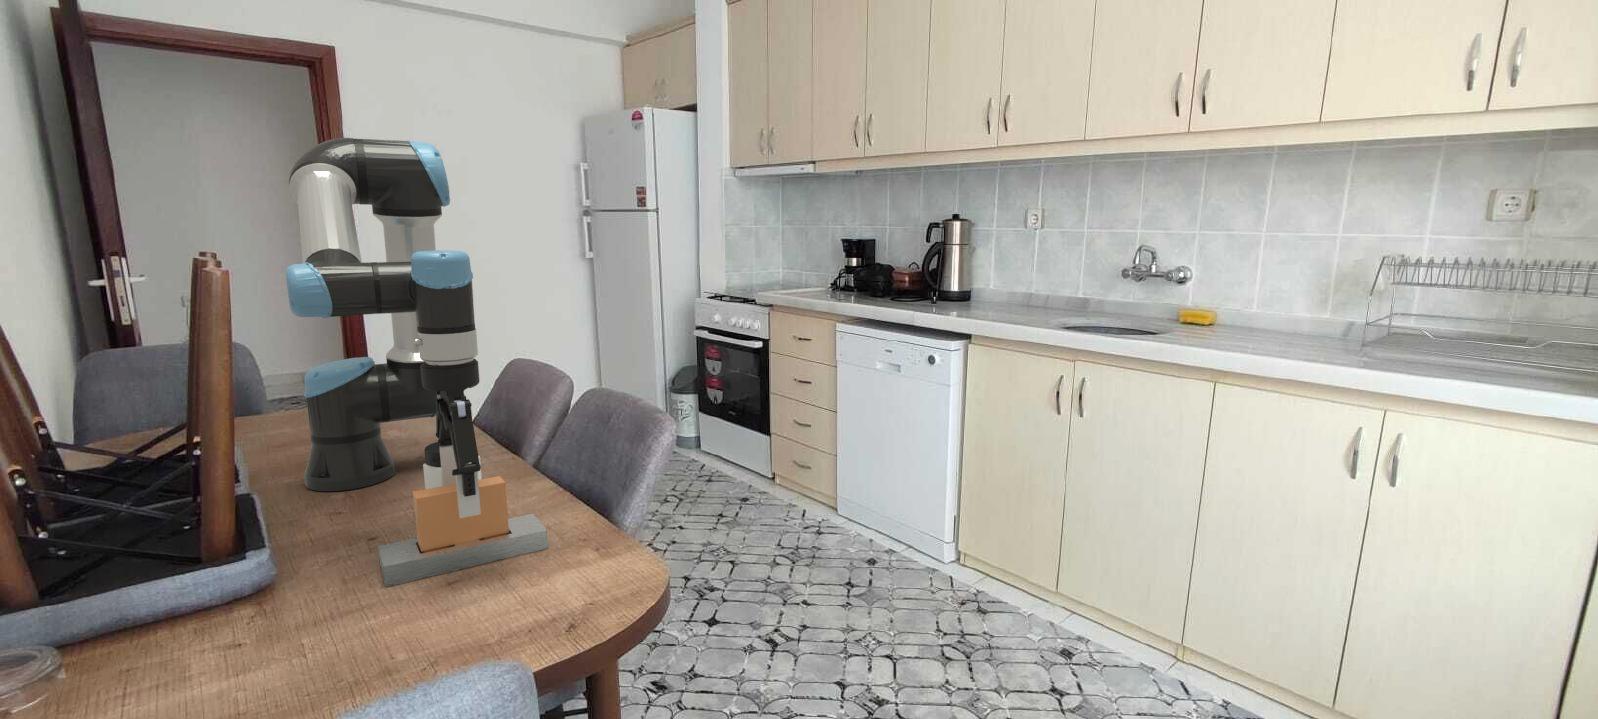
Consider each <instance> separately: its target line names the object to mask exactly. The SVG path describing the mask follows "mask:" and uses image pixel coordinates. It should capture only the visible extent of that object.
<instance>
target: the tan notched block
mask: <svg viewBox="0 0 1598 719" xmlns="http://www.w3.org/2000/svg"><path fill="white" fill-rule="evenodd" d="M478 485H479V497H480V510H481V514H479V515H474V516H469V517H464V518H460V517H459V508H458V496H457V485H456V484H452V485H446V486H441V487H435V488H430V489H425V488H424V489H419V490H413V491H412V497H413V507H414V517H415V528H416V538H417V539H418V545H419V547H420V550H421V552H423V553H426V552H430V551H435V550H440V549H444V548H448V546H450V545H455V544H459V543H464V542H468V541H473V540H477V539H481V540H485V539H489V538H494V537H498V536H503V535H505V533H509V526H508V519H509V515H508V502H507V500H508V499H507V487H506V481H505V480H504V479H503V478H502V476H501V475H498V476H497V475H496V476H492V477H487V478H486V477H485V478H482V479H480V480H478Z"/></svg>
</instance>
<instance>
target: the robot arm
mask: <svg viewBox="0 0 1598 719" xmlns="http://www.w3.org/2000/svg"><path fill="white" fill-rule="evenodd" d="M446 172H447V171H446V168H445V165H444V161H443V158H442V156H441V154H440V150H438V148H437V147H436V146H435V145H433V144H432V143H428V142H422V141H421V142H420V141H414V140H413V141H412V140H411V139H410V140H398V139H397V140H392V139H373V138H371V139H370V138H353V137H339V138H332V139H328V140H325V141H323V142H321V143H319V144H315V145H314V146H312V147H311V148H310V149H308V150H306V151H305V152H304V153H303V154H302V155H301V156H299V158H297V160H296V161H295V163H294V164H293V165H292V168H291V170H290V173H289V178H288V186H289V187H288V188H289V193H290V196H291V198H292V200H293V201H294V203H296V205H297V207H298V218H299V219H298V220H299V222H298V223H299V237H300V245H301V246H300V247H301V248H300V249H301V258H302V259H301V260H302V261H301V262H302V263H296V264H295V263H294V264H290V265H289V266H288V267H287V268H286V270H285V276H286V288H287V295H288V301H289V302H288V303H289V308H290V311H291V313H292V314H293V316H296V317H299V318H323V319H328V318H330V317H331V318H332V317H333V318H334V317H346V316H362V315H378V314H379V315H382V314H391V325H392V326H391V327H392V338H393V346H392V347H391V349H390V350H388V351H387V352H386V357H385V360H386V363H377V364H375V361H374V358H373V357H370V356H362V357H361V356H360V357H352V358H346V359H340V360H335V361H331V362H327V363H323V364H320V365H317V366H315V367H313V368H311V369H309V370H308V371H307V372H306V373H305V375H304V379H303V380H304V398H306V399H305V400H306V405H307V406H306V407H307V416H308V424H309V434H310V443H311V444H310V446H311V447H310V449H309V450H310V451H309V455H308V459H307V463H306V466H305V471H304V473H303V474H304V484H305V488H307V489H308V490H311V491H318V492H339V491H340V492H341V491H349V490H355V489H356V490H357V489H361V488H366V487H370V486H373V485H377V484H378V483H382V482H384V481H387V480H388V479H390V478H391V477H393V476H394V475H395V474H396V467H395V461H394V458H393V457H392V455H391V452H390V450H389V449H388V447H387V445H386V442H385V441H384V438H383V437H382V431H381V424H383V423H391V422H392V423H393V422H398V421H399V422H400V421H406V420H414V419H415V420H416V419H423V418H436V424H435V425H436V426H435V428H436V431H435V432H436V433H435V436H436V438H437V439H438V440H437V442H438V443H439V444H440V445H443V446H441V447H439V448H440V459H441V471H442V482H443V486H446V485H452V484H456V485H457V496H458V508H459V517H460V518H464V517H469V516H474V515H479V514H481V510H480V497H479V485H478V472H477V471H480V469H481V470H482V465H480V463H481V462H480V463H479V457H478V456H479V454H478V453H479V451H478V446H477V445H476V444H477V441H476V434H475V433H476V432H475V427H474V421H473V420H474V419H473V413H472V406H473V405H472V403H471V401H470V398H469V399H467V396H466V394H465V393H464V392H465V391H466V390H467V389H472V388H474V387H476V386H477V385H479V383H480V370H479V369H480V368H479V361H478V360H477V359H476V357H477V356H478V354H479V351H478V337H477V336H478V334H477V328H476V324H475V310H474V309H475V308H474V292H473V289H474V288H473V278H474V273H473V272H472V266H471V260H470V256H469V254H468V253H466V252H465V251H462V250H449V249H447V250H446V249H445V250H444V249H443V250H442V249H441V250H439V249H436V236H435V235H436V234H435V224H436V222H437V221H439V219H440V218H441V217H442V216H443V213H442V207H444V208H445V207H447V206H449V205H450V203H451V197H450V195H451V194H450V187H449V181H448V177H447V173H446ZM353 205H371V210H372V216H374V218H376V219H377V220H379V221H380V222H381V224H382V226H383V236H384V249H385V259H386V261H385V262H384V261H379V262H377V261H376V262H375V261H374V262H371V261H370V262H362V256H361V251H360V246H359V245H360V244H359V239H358V234H357V226H356V220H355V214H354V209H353ZM467 462H471V463H470V464H464V463H467Z"/></svg>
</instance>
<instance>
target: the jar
mask: <svg viewBox="0 0 1598 719" xmlns="http://www.w3.org/2000/svg"><path fill="white" fill-rule="evenodd" d="M476 445H477V443H476ZM441 446H443V445H440V444H439V443H438V441H436V442H433V443H430V444H428V445H426V446H425V447H424V460H425V463H423V465H422V468H423V478H424V479H423V480H424V489H430V488H435V487H441V486H443V482H442V471H441V459H440V448H439V447H441ZM478 457H479V463H480V465H481V456H480V455H478ZM470 463H471V462H467V463H464V464H470ZM481 466H482V465H481ZM477 472H478V480H480V479H483V478H482V468H481V469H480V471H477Z"/></svg>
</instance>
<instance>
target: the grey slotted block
mask: <svg viewBox="0 0 1598 719" xmlns="http://www.w3.org/2000/svg"><path fill="white" fill-rule="evenodd" d="M508 526H509V533H505V535H503V536H498V537H494V538H489V539H485V540H481V539H477V540H473V541H468V542H464V543H459V544H455V545H450V546H448V548H444V549H440V550H435V551H430V552H426V553H423V552H421V550H420V547H419V545H418V539H417V537H415V538H410V539H406V540H401V541H395V542H392V543H386V544H385V543H384V544H380V545H378V546H377V549H378V560H379V566H380V570H381V574H382V578H383V582H384V586H385V587H386V588H388V587H392V586H396V585H400V584H404V583H408V582H412V581H414V582H415V581H417V580H421V579H426V578H429V577H433V576H437V575H442V574H447V573H451V572H455V571H459V570H464V569H467V568H472V567H475V566H481V565H485V564H489V563H494V562H498V561H501V560H505V559H509V558H514V557H518V556H522V555H527V554H530V553H535V552H539V551H543V550H549V542H548V541H549V540H548V529H547V528H546V527H545V525H543V524H542V522H541V521H540V519H538V518H537V516H536V515H535V514H534V513H530V514H524V515H520V516H514V517H511V518H510V517H508Z"/></svg>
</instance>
